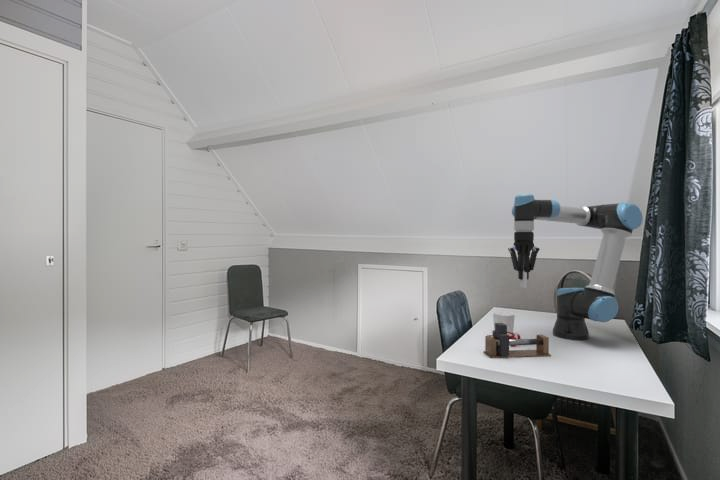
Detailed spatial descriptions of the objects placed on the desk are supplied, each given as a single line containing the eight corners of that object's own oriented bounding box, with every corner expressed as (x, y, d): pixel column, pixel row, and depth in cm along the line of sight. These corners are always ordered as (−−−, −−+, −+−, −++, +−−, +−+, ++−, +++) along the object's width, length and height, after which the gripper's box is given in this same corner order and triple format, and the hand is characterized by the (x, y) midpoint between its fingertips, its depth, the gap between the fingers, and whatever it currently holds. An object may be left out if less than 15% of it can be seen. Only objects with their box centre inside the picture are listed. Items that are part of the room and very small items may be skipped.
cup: (489, 333, 181) (489, 313, 181) (497, 329, 189) (497, 310, 189) (510, 337, 175) (510, 316, 175) (517, 333, 182) (517, 313, 182)
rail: (540, 350, 155) (541, 333, 155) (551, 356, 148) (551, 338, 148) (483, 352, 152) (483, 335, 152) (490, 358, 145) (491, 340, 145)
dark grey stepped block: (499, 349, 154) (499, 321, 153) (509, 355, 146) (509, 326, 145) (492, 349, 153) (492, 321, 153) (501, 355, 145) (502, 326, 145)
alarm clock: (494, 329, 175) (526, 328, 165) (497, 343, 175) (529, 342, 165) (484, 334, 168) (517, 332, 158) (487, 348, 167) (521, 347, 157)
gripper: (533, 231, 160) (533, 285, 161) (504, 231, 159) (504, 286, 159) (543, 231, 153) (543, 288, 153) (513, 231, 151) (513, 288, 152)
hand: (523, 287), depth 156 cm, fingers closed
